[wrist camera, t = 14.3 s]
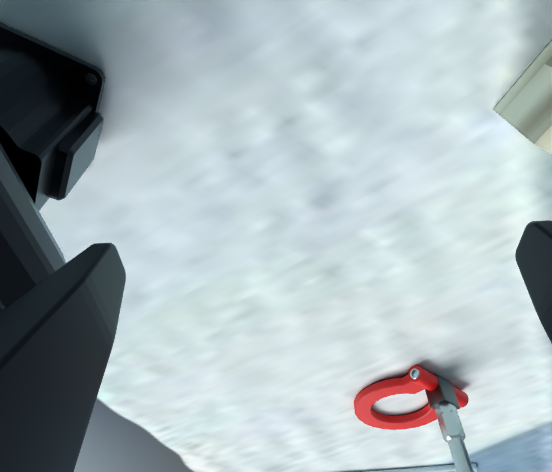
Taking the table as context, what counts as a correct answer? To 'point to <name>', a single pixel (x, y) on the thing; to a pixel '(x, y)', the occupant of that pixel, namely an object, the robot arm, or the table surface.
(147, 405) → the table surface
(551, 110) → the socket block
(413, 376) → the tow hook
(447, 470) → the tablet computer
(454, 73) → the table surface
